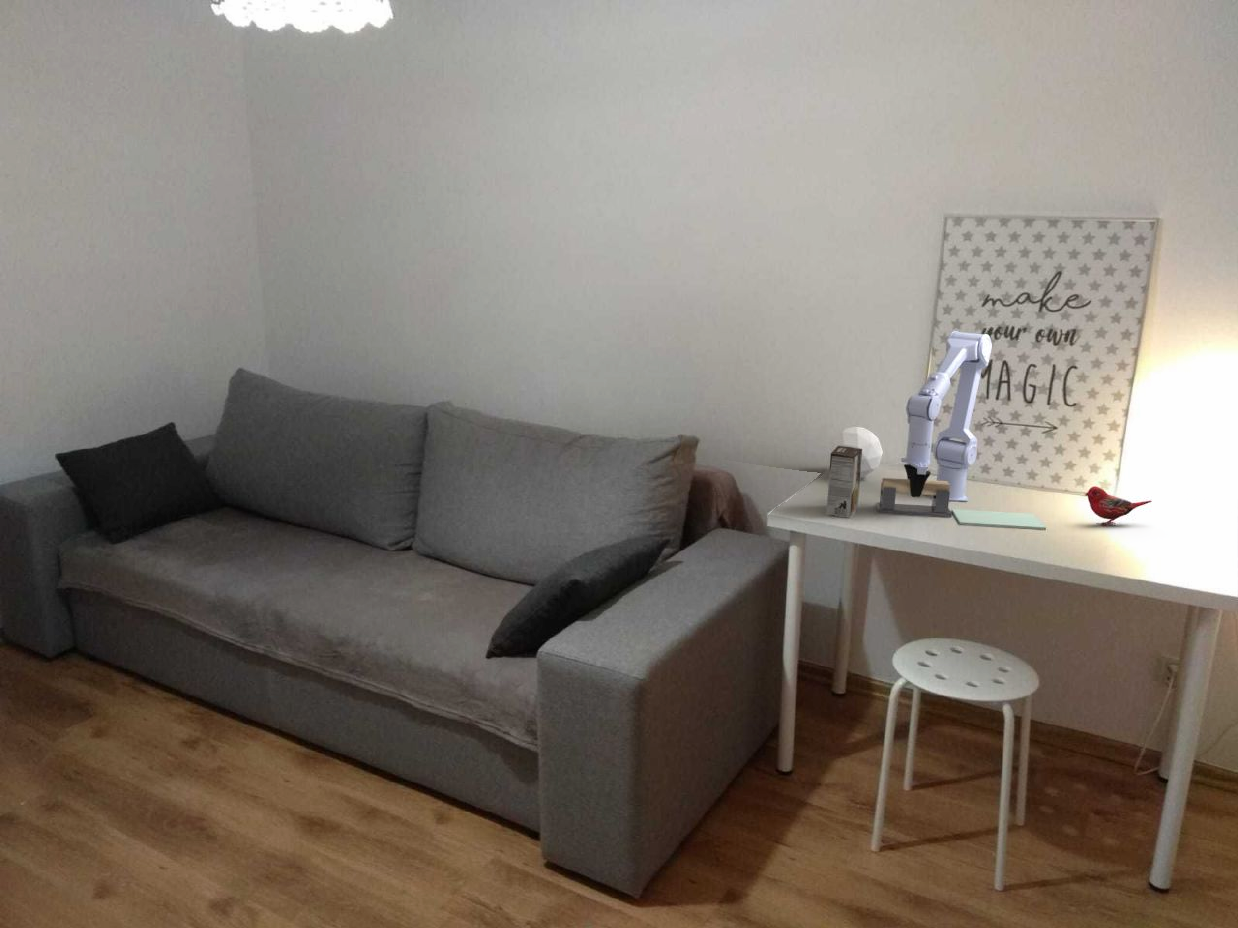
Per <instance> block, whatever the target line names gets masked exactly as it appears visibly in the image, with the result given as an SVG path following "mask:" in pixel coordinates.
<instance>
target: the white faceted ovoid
mask: <svg viewBox="0 0 1238 928" xmlns="http://www.w3.org/2000/svg"><path fill="white" fill-rule="evenodd" d="M881 444H882V443H881V441H880V439H879V437H878V436H877V435H875V434H874V433H873V432H872V431H870V430H868V429H867V428H865V427H861V426H852V427H846V428H845V429H843V430H842V431H840V432H839V433H837V434H836V435H834V436H833V438H832V441H831V444H830V447H829V451H828V455H829V458H830V457H831V453H832V452H833V451H834V450H835V449H836V447H837V446H846V447H853V448H858V449H862V458H861V471H860V479H862V478H863V479H864V478H866V477H867V476H869V475H871V474H872V473H873V472H874V471H876V470H877V469H878V468H879V466H880V463H881V460H882V457H883V454H884V451H883V448H882V445H881Z"/></svg>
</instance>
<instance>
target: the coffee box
mask: <svg viewBox="0 0 1238 928" xmlns="http://www.w3.org/2000/svg"><path fill="white" fill-rule="evenodd" d="M829 458H830V459H829V460H830V461H829V475H828V484H827V486H828V487H827V497H826V498H827V499H826V509H825V510H826V512H825V515H826V514H830V515H829V516H831V515H835V516H834V517H837V516H841V517H840V518H844V517H847V518H846V519H851V518H852V517H853V515H854V514H855V513H856V511H857V510H858V507H859V496H860V495H859V494H860V493H859V492H860V483H861V478H860V471H861V458H862V449H858V448H853V447H846V446H837V447H836V449H835V450H834V451H833V452H832V453H831V457H830V456H829Z"/></svg>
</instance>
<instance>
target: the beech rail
mask: <svg viewBox="0 0 1238 928" xmlns="http://www.w3.org/2000/svg"><path fill="white" fill-rule="evenodd" d="M881 483H882V491H883V488H884V487H886V488H896V494H904V495H905V494H906V495H907V494H908V495H911V492H910V479H908V478H895V477H894V478H892V477H891V478H890V477H882V480H881ZM949 487H950V484H949V483H948V481H936V480H932V479H931V480H929V479H927V480H926V482H925V484H924V487H923V490H922V493H921V495H922V496H924V495H925V496H933V495H936V493H937V490H939V491H949Z"/></svg>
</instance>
